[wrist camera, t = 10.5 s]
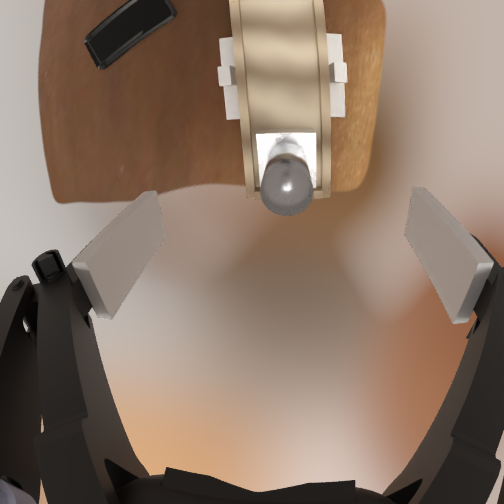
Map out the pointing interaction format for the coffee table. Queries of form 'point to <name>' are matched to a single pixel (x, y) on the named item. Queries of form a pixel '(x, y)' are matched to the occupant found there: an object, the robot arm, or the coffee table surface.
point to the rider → (287, 168)
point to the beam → (282, 78)
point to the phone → (127, 29)
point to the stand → (336, 78)
